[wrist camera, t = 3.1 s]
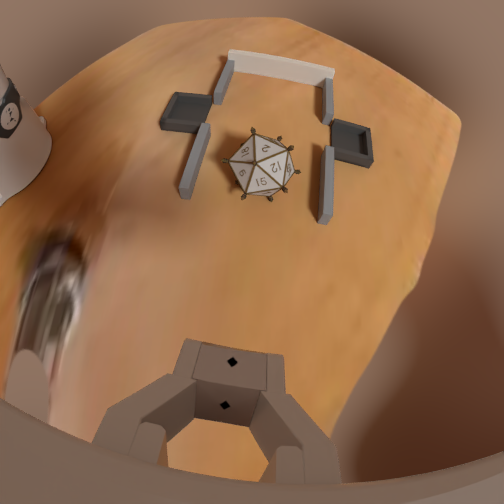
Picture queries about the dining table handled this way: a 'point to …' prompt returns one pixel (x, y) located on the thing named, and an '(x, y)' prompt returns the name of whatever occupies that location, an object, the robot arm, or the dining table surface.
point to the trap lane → (342, 132)
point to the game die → (262, 166)
